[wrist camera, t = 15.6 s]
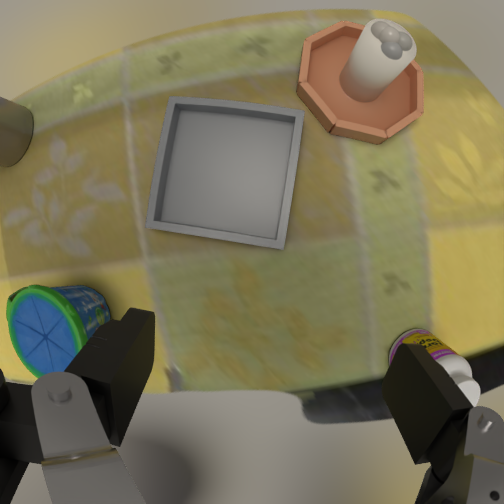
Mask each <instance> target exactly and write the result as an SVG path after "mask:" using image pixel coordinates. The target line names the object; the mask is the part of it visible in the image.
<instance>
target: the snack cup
mask: <svg viewBox="0 0 504 504" xmlns="http://www.w3.org/2000/svg"><path fill="white" fill-rule="evenodd" d="M6 317H7V321H8V326H9V333H10V338H11V341H12V344H13V346H14V349H15V351H16V353H17V355H18V357H19V358H20V360H21V361H22V363H23V364H24V365H25V366H26V368H27V369H28V370H29V371H30V372H31V373H32V374H33V375H34V376H36V377H37V378H40V377H41V376H43V375H45V374H48V373H51V372H64V370H65V369H66V368H67V366H68V365H69V364H70V363H71V361H72V360H73V359H74V357H75V356H76V355H77V354H78V352H79V351H80V350H81V349H82V347H83V346H84V345H86V342H87V341H88V340H89V339H90V337H92V335H93V334H94V332H95V331H96V330H97V329H98V327H99V326H101V325H102V324H104V323H106V322H108V321H110V313H109V308H108V306H107V305H106V302H105V299H104V298H103V296H102V295H100V294H99V293H97V292H96V291H95V290H94V289H91V288H89V287H86V286H83V285H76V286H61V287H51V288H49V287H45V286H40V285H30V286H28V287H24V288H22V289H20V290H18V291H16V292H15V293H13V294H12V295H10V296H9V298H8V301H7V310H6Z"/></svg>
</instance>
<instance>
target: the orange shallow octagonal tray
mask: <svg viewBox="0 0 504 504" xmlns="http://www.w3.org/2000/svg"><path fill="white" fill-rule="evenodd" d="M364 27H365V26H364V25H361V24H357V23H353V22H348V21H344V22H343V21H340V22H338V23H336V24H334V25H332V26H330V27H328V28H326V29H324V30H322V31H320V32H318V33H316V34H314V35H312V36H310V37H308V38H306V39H305V40H304V44H303V49H302V55H301V63H300V70H299V77H298V84H297V91H296V92H297V95H298V96H299V97H300V98H301V100H302V101H303V102H304V103H305V104H306V106H307V107H308V108H309V109H310V111H311V112H312V113H313V114H314V115H315V117H316V118H317V119H318V120H319V122H320V123H321V124H322V126H323V127H324V128H325V129H326V131H327V132H329V131H330V134H333V135H338V136H343V137H347V138H352V139H356V140H361V141H365V142H369V143H373V144H377V145H378V144H381V143H382V142H384V141H385V140H387V139H388V138H389V137H391V136H392V135H394V134H395V133H397V132H398V131H400V130H401V129H402V128H404V127H405V126H407V125H408V124H410V123H411V122H413V121H414V120H415V119H417V118H418V117H420V116H421V115H422V113H423V106H424V89H423V71H421V70H422V69H421V67H420V66H419V65H418V64H417V62H416V61H415V60H414V59H413V60H412V61H411V62H410V63H409V65H408V66H407V67H406V68H405V69H404V70H403V71H402V72H401V73H400V74H399V75H398V76H397V77H396V78H395V79H394V80H393V81H392V82H391V84H390V85H389V86H388V87H387V88H386V89H385V90H384V91H383V92H382V93H381V94H380V95H379V96H378V97H377V98H376V99H375V100H373V101H371V102H359V101H356V100H354V99H352V98H350V97H349V96H348V95H347V94H346V93H345V92H344V91H343V89H342V88H341V85H340V82H339V76H340V73H341V71H342V69H343V67H344V65H345V63H346V61H347V60H348V58H349V56H350V54H351V52H352V50H353V48H354V46H355V44H356V43H357V41H358V39H359V37H360V35H361V33H362V31H363V29H364Z"/></svg>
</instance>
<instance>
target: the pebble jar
mask: <svg viewBox="0 0 504 504" xmlns="http://www.w3.org/2000/svg"><path fill="white" fill-rule="evenodd" d="M416 51H417V50H416V44H415V42H414V40H413V38H412V36H411V35H410V34H409V32H408V31H407V30H406V29H404V28H403V27H402V26H401V25H399V24H397V23H395V22H393V21H390V20H387V19H374V20H371V21H370V22H368V23H367V24H366V26H365V27H364V29H363V31H362V33H361V35H360V37H359V39H358V41H357V43H356V44H355V46H354V48H353V50H352V52H351V54H350V56H349V58H348V60H347V61H346V63H345V65H344V67H343V69H342V71H341V73H340V76H339V82H340V85H341V88H342V89H343V91H344V92H345V93H346V94H347V95H348V96H349V97H350V98H352V99H354V100H356V101H359V102H371V101H373V100H375V99H376V98H377V97H378V96H379V95H380V94H381V93H382V92H383V91H384V90H385V89H386V88H387V87H388V86H389V85H390V84H391V82H392V81H393V80H394V79H395V78H396V77H397V76H398V75H399V74H400V73H401V72H402V71H403V70H404V69H405V68H406V67H407V66H408V65H409V63H410V62H411V61H412V60H413V59H414V58H415V56H416Z"/></svg>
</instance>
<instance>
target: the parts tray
mask: <svg viewBox="0 0 504 504" xmlns="http://www.w3.org/2000/svg"><path fill="white" fill-rule="evenodd" d="M304 112H305V111H303V110H297V109H291V108H285V107H278V106H272V105H265V104H257V103H249V102H240V101H231V100H221V99H209V98H195V97H176V96H169V100H168V105H167V109H166V113H165V118H164V122H163V127H162V132H161V136H160V141H159V146H158V151H157V157H156V162H155V167H154V173H153V179H152V185H151V191H150V197H149V204H148V210H147V217H146V225H145V228H152V229H158V230H164V231H171V232H177V233H183V234H189V235H196V236H202V237H208V238H214V239H221V240H227V241H233V242H239V243H245V244H251V245H258V246H264V247H270V248H276V249H282V250H284V244H285V238H286V232H287V226H288V220H289V213H290V207H291V201H292V194H293V188H294V182H295V175H296V168H297V162H298V155H299V148H300V141H301V134H302V127H303V120H304Z"/></svg>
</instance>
